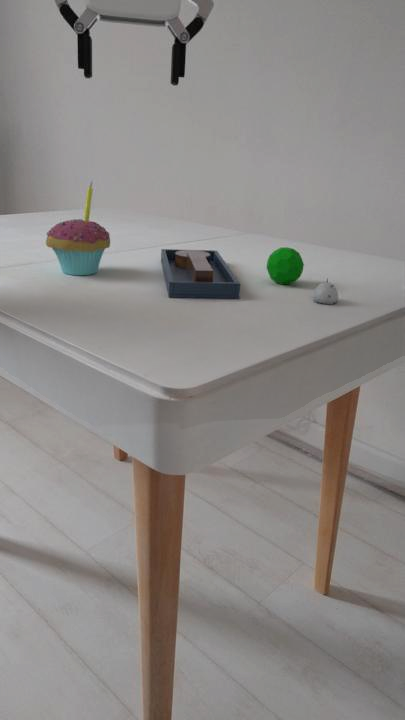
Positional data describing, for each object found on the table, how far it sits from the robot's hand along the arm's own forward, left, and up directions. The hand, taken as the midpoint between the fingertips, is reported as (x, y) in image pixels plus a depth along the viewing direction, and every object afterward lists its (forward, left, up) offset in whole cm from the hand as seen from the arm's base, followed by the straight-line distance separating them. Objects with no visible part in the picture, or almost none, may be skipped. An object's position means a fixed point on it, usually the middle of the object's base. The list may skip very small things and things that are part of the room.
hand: (131, 80), depth 63 cm
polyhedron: (+21, +4, -24) cm, 32 cm away
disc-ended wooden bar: (+9, +6, -23) cm, 26 cm away
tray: (+9, +6, -24) cm, 26 cm away
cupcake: (-7, +8, -24) cm, 26 cm away
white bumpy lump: (+24, -5, -24) cm, 34 cm away
